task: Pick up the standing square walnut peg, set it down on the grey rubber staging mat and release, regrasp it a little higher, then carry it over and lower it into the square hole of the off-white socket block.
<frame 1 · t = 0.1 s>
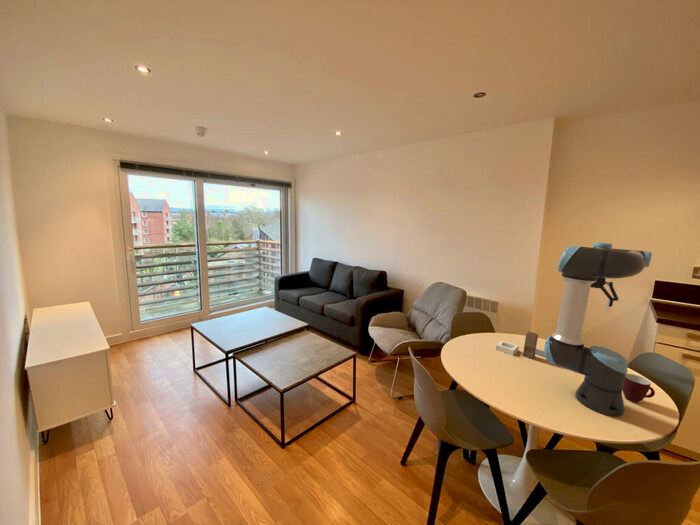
hand: (590, 308, 151), 28 cm above the table, fingers open, 13 cm apart
staging mat: (538, 352, 157), on the table
peg: (528, 356, 152), on the table
socket block: (507, 350, 159), on the table
mug: (635, 400, 117), on the table
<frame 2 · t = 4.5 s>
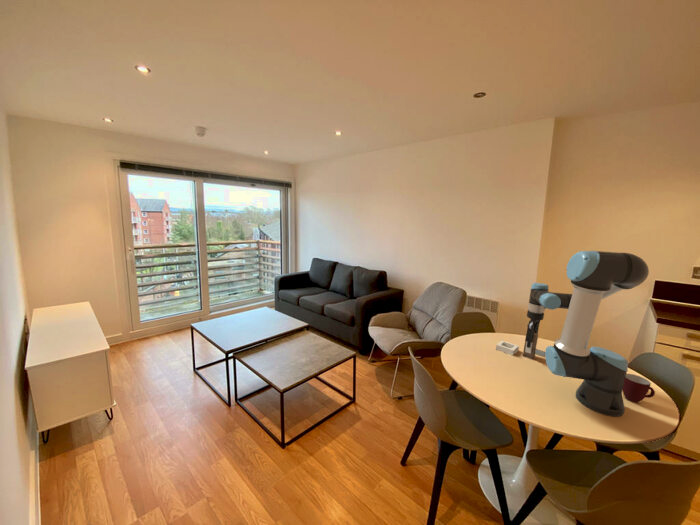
hand: (529, 351, 152), 3 cm above the table, fingers closed on peg, 4 cm apart
peg: (528, 356, 152), on the table, touching gripper
everything else where it was.
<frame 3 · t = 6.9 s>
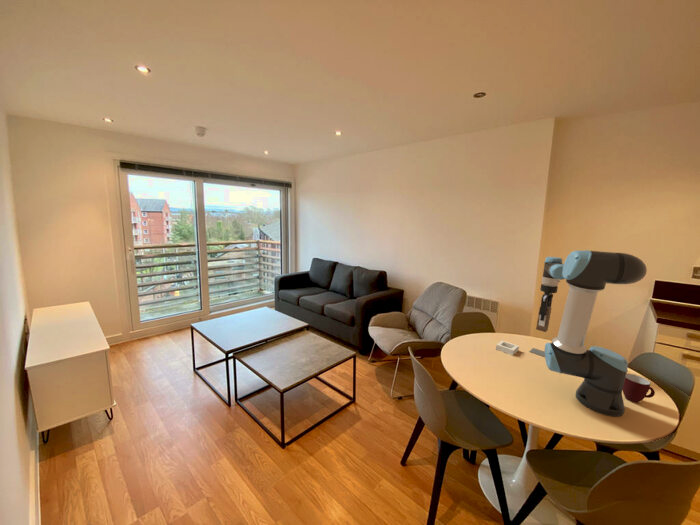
hand: (542, 324, 154), 17 cm above the table, fingers closed on peg, 4 cm apart
peg: (541, 329, 155), point 14 cm above the table, touching gripper
everything else where it was.
when the fingers open (4 cm above the table, at t = 9.3 s): peg stays where it is, resting on staging mat.
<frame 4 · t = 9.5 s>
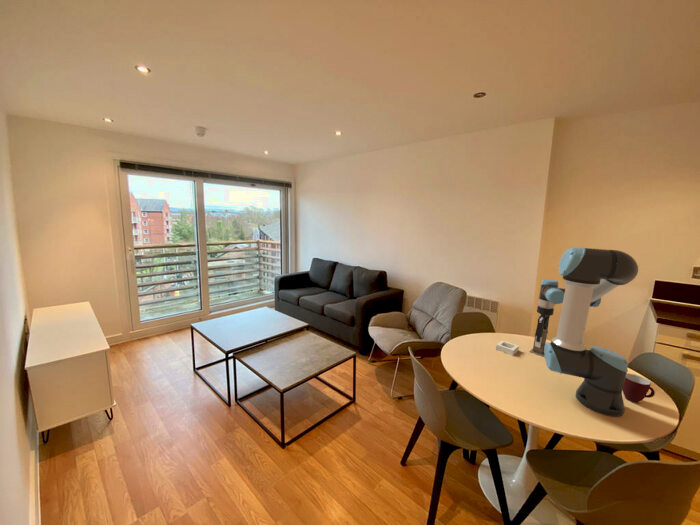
hand: (539, 344, 156), 5 cm above the table, fingers open, 7 cm apart
peg: (538, 351, 157), resting on staging mat
everything else where it was.
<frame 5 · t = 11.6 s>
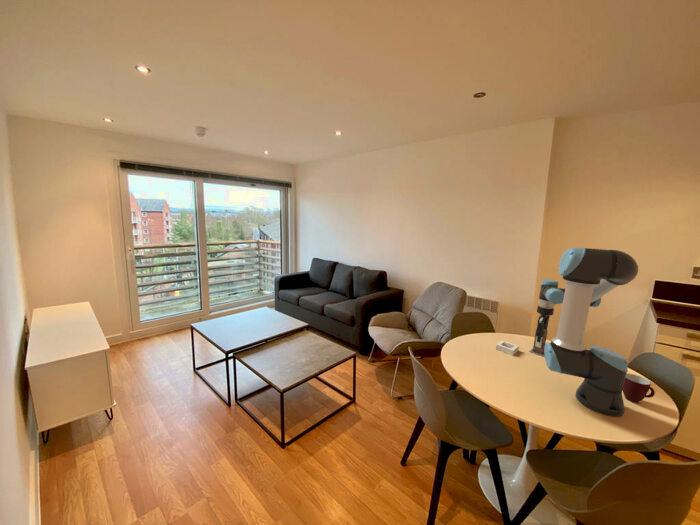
hand: (539, 345, 157), 4 cm above the table, fingers closed on peg, 4 cm apart
peg: (538, 351, 157), resting on staging mat, touching gripper
everything else where it was.
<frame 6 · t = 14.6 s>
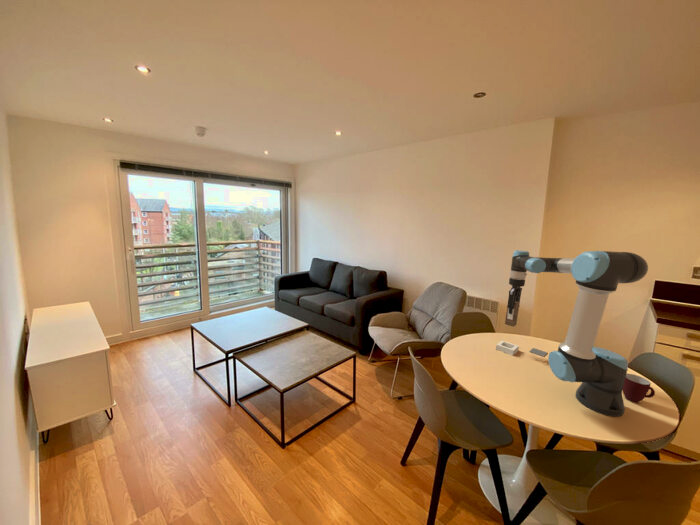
hand: (511, 317, 155), 20 cm above the table, fingers closed on peg, 4 cm apart
peg: (510, 324, 156), point 16 cm above the table, touching gripper
everything else where it was.
when the fingers open (5 cm above the table, at t = 17.9 s): peg drops 1 cm, resting in socket block.
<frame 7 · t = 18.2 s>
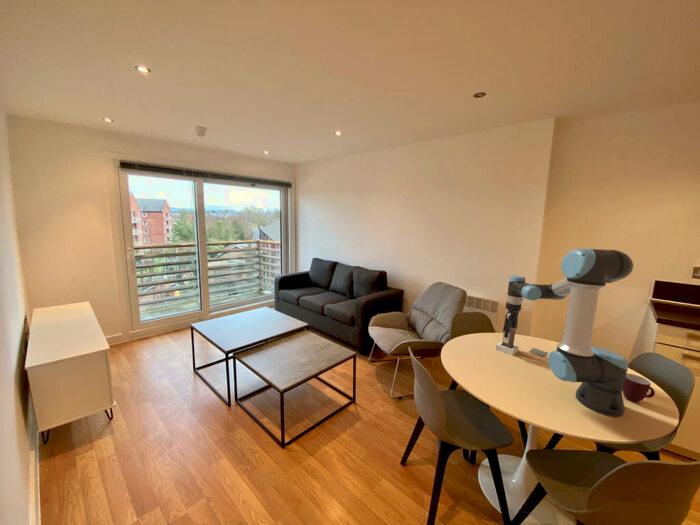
hand: (508, 340, 158), 6 cm above the table, fingers open, 8 cm apart
peg: (506, 350, 159), resting in socket block
everything else where it was.
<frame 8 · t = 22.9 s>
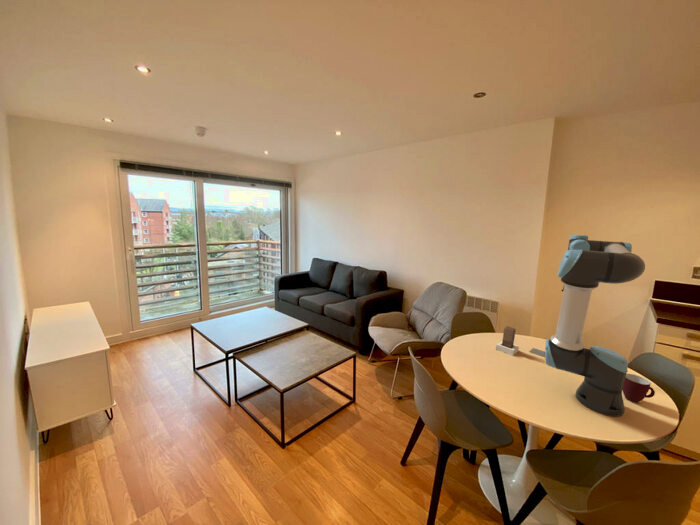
hand: (567, 301, 150), 32 cm above the table, fingers open, 13 cm apart
nothing on the table moved.
at the end: peg 0.0 cm off-centre on the socket block, point 0.0 cm above the socket block's base; peg tilted 0°; the gripper is holding nothing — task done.
